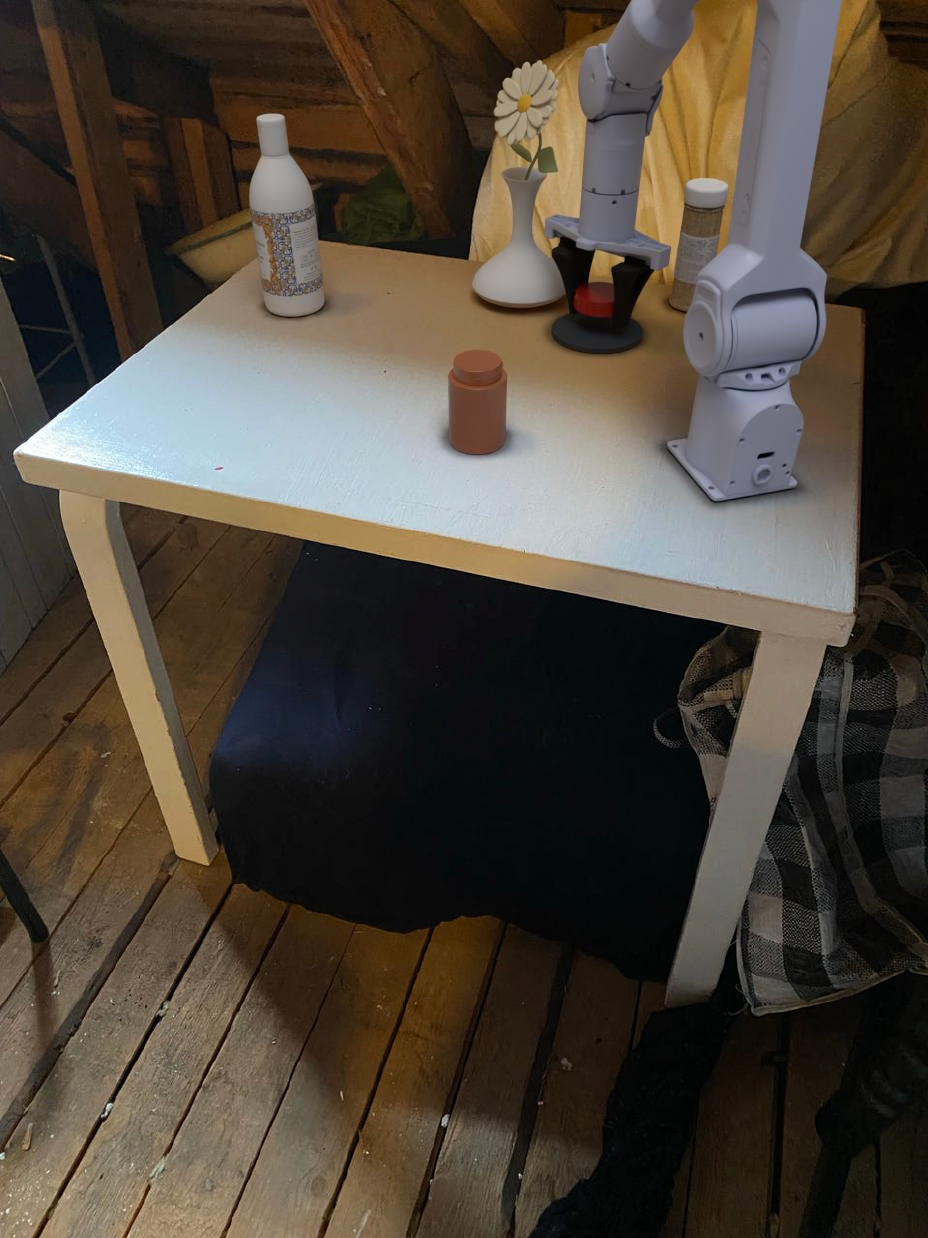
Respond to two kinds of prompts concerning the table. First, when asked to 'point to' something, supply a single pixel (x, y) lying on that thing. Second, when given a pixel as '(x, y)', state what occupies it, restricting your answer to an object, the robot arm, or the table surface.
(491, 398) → the jar
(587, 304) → the lid
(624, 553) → the table surface
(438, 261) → the table surface
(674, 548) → the table surface
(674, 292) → the sprinkles bottle
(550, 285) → the flower in vase
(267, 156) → the bath foam
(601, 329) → the coaster
